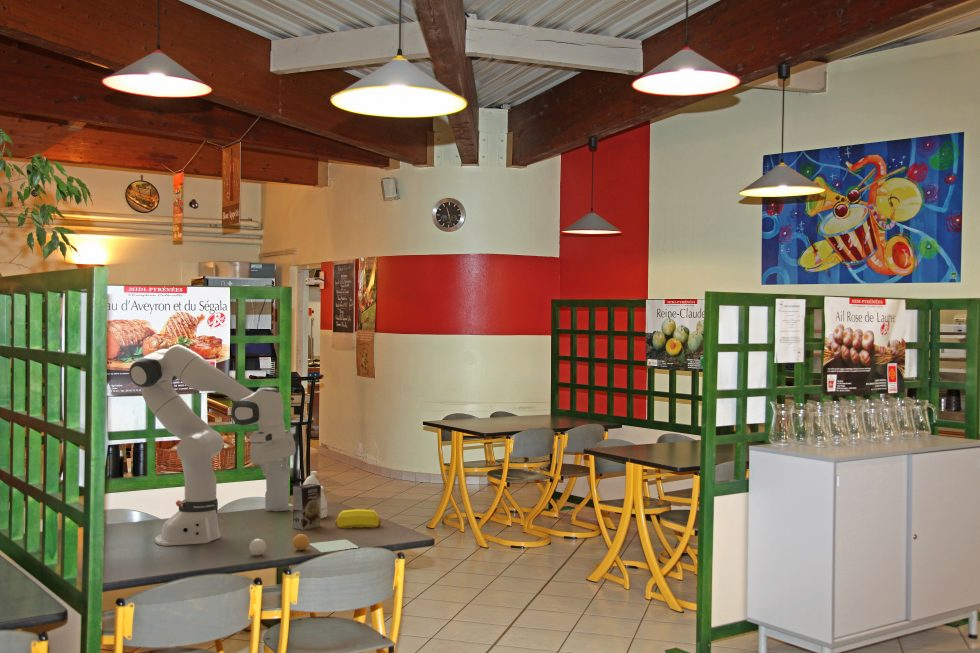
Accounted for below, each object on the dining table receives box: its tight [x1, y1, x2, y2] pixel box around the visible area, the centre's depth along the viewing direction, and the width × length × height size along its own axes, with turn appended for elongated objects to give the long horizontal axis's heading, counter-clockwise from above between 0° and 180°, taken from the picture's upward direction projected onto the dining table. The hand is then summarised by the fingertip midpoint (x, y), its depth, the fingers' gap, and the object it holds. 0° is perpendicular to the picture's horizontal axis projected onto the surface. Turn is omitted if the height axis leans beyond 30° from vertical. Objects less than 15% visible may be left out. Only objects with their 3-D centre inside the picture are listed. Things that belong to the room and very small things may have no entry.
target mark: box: [308, 539, 359, 554], centre depth 316 cm, size 14×14×1 cm
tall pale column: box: [264, 458, 291, 512], centre depth 378 cm, size 11×4×22 cm, turn 96°
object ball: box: [292, 533, 310, 551], centre depth 311 cm, size 6×6×6 cm
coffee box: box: [292, 484, 322, 531], centre depth 347 cm, size 9×6×16 cm
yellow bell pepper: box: [334, 508, 382, 529], centre depth 348 cm, size 18×7×8 cm
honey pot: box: [302, 470, 328, 519], centre depth 367 cm, size 13×13×18 cm
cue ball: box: [248, 538, 267, 556], centre depth 303 cm, size 6×6×6 cm
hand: (275, 472), depth 314 cm, fingers open, 8 cm apart
